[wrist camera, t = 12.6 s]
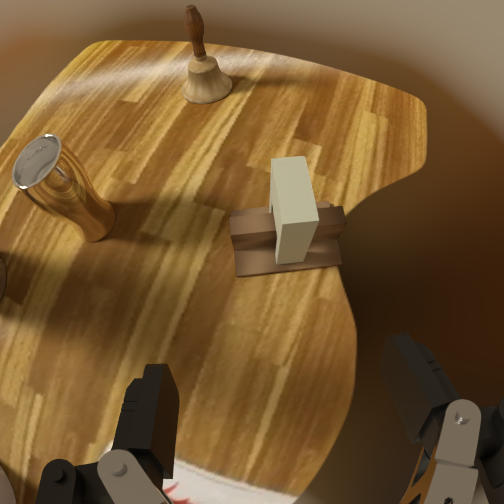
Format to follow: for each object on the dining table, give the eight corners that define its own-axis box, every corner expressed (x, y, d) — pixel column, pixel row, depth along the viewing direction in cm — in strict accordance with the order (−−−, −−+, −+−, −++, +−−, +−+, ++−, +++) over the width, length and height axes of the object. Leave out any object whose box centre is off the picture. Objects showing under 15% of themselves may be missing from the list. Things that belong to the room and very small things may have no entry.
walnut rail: (237, 277, 36) (233, 263, 31) (231, 212, 39) (226, 192, 34) (341, 265, 36) (352, 250, 31) (328, 203, 39) (336, 182, 34)
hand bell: (205, 111, 44) (187, 25, 29) (171, 91, 46) (149, 13, 31) (243, 84, 46) (237, 1, 31) (208, 66, 48) (196, -10, 33)
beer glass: (87, 194, 40) (32, 130, 26) (126, 202, 40) (74, 132, 26) (67, 238, 38) (0, 186, 24) (106, 250, 38) (40, 195, 23)
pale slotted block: (303, 261, 36) (319, 220, 25) (276, 264, 36) (282, 224, 25) (294, 210, 38) (304, 156, 27) (269, 213, 38) (271, 158, 27)
